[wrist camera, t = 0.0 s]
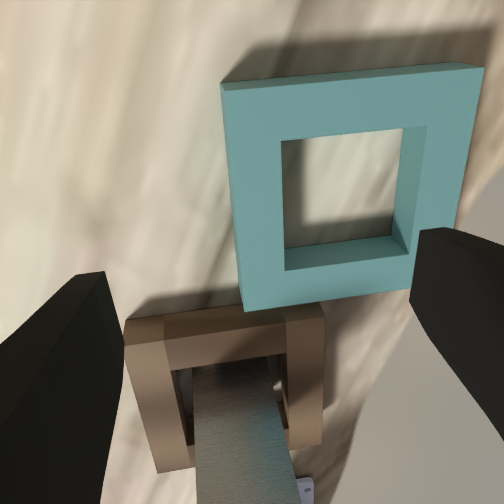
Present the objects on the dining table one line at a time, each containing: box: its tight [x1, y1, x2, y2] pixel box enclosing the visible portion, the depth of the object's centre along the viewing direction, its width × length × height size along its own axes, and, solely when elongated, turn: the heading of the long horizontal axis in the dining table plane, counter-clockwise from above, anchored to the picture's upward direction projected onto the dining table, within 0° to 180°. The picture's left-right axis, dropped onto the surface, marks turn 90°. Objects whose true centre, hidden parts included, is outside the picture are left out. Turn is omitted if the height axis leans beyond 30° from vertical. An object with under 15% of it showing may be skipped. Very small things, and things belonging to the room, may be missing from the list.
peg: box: [192, 356, 301, 504], centre depth 21 cm, size 4×4×9 cm
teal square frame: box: [220, 62, 485, 312], centre depth 19 cm, size 10×10×2 cm
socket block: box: [123, 302, 325, 474], centre depth 24 cm, size 10×10×2 cm
